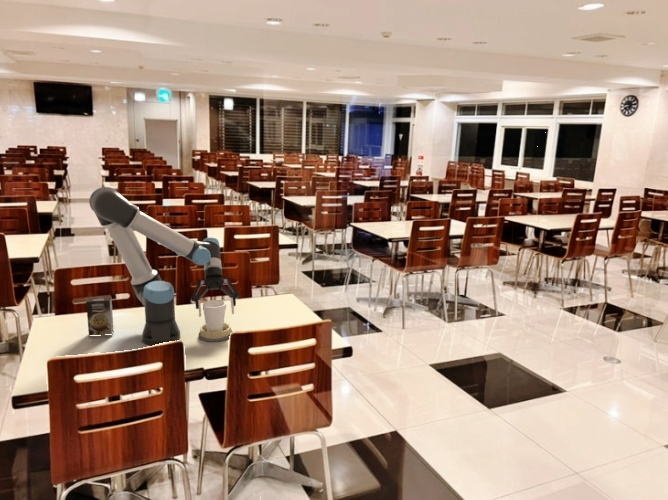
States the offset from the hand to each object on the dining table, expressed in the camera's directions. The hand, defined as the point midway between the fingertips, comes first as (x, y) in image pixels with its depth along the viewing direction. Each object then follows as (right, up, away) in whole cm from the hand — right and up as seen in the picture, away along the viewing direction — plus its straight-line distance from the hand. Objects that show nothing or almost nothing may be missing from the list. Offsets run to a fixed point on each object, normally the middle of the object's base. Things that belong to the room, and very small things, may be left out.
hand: (216, 314), depth 219 cm
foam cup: (-1, -8, +2) cm, 9 cm away
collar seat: (-1, -9, +2) cm, 10 cm away
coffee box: (-48, -9, -1) cm, 49 cm away
